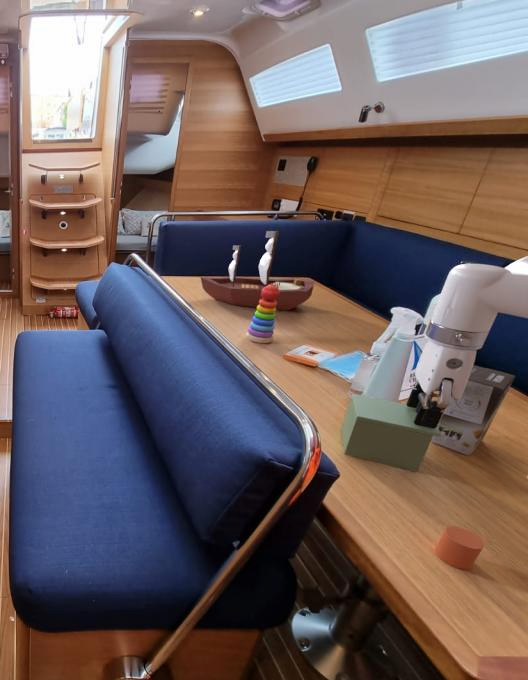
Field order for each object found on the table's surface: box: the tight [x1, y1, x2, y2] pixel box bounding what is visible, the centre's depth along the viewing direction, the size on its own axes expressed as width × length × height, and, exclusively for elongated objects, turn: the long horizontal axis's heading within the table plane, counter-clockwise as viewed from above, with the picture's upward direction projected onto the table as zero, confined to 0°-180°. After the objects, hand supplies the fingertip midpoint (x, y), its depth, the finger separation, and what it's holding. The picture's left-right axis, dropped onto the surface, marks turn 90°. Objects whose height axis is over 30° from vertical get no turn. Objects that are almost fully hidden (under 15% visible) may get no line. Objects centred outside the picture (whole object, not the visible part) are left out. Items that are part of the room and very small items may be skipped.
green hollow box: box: [340, 396, 433, 473], centre depth 87 cm, size 12×10×9 cm
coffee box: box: [430, 364, 516, 456], centre depth 86 cm, size 9×6×16 cm
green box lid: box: [351, 393, 441, 437], centre depth 83 cm, size 12×10×5 cm
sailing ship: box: [200, 230, 315, 312], centre depth 165 cm, size 18×40×29 cm, turn 63°
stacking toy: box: [245, 285, 280, 344], centre depth 136 cm, size 8×8×19 cm
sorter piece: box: [434, 525, 485, 570], centre depth 64 cm, size 4×4×4 cm
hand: (420, 415), depth 82 cm, fingers open, 6 cm apart
